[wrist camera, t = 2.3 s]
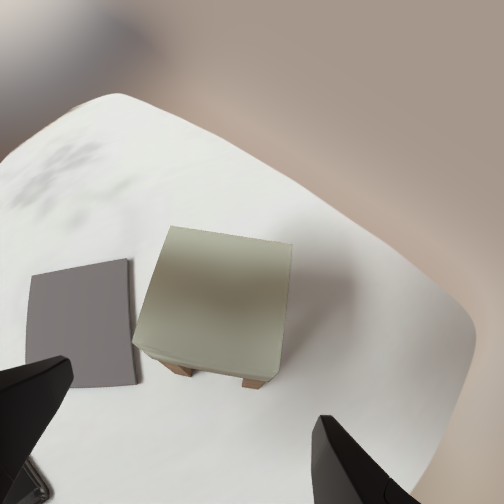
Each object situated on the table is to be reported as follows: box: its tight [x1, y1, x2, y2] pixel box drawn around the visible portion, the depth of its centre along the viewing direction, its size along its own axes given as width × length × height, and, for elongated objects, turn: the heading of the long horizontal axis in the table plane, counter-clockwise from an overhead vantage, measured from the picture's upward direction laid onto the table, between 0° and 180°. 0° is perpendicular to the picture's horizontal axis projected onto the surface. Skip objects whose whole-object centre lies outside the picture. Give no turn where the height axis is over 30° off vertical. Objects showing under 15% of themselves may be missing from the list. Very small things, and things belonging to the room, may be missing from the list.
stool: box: [132, 226, 292, 389], centre depth 17 cm, size 6×6×10 cm
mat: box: [25, 258, 137, 388], centre depth 20 cm, size 11×11×1 cm
